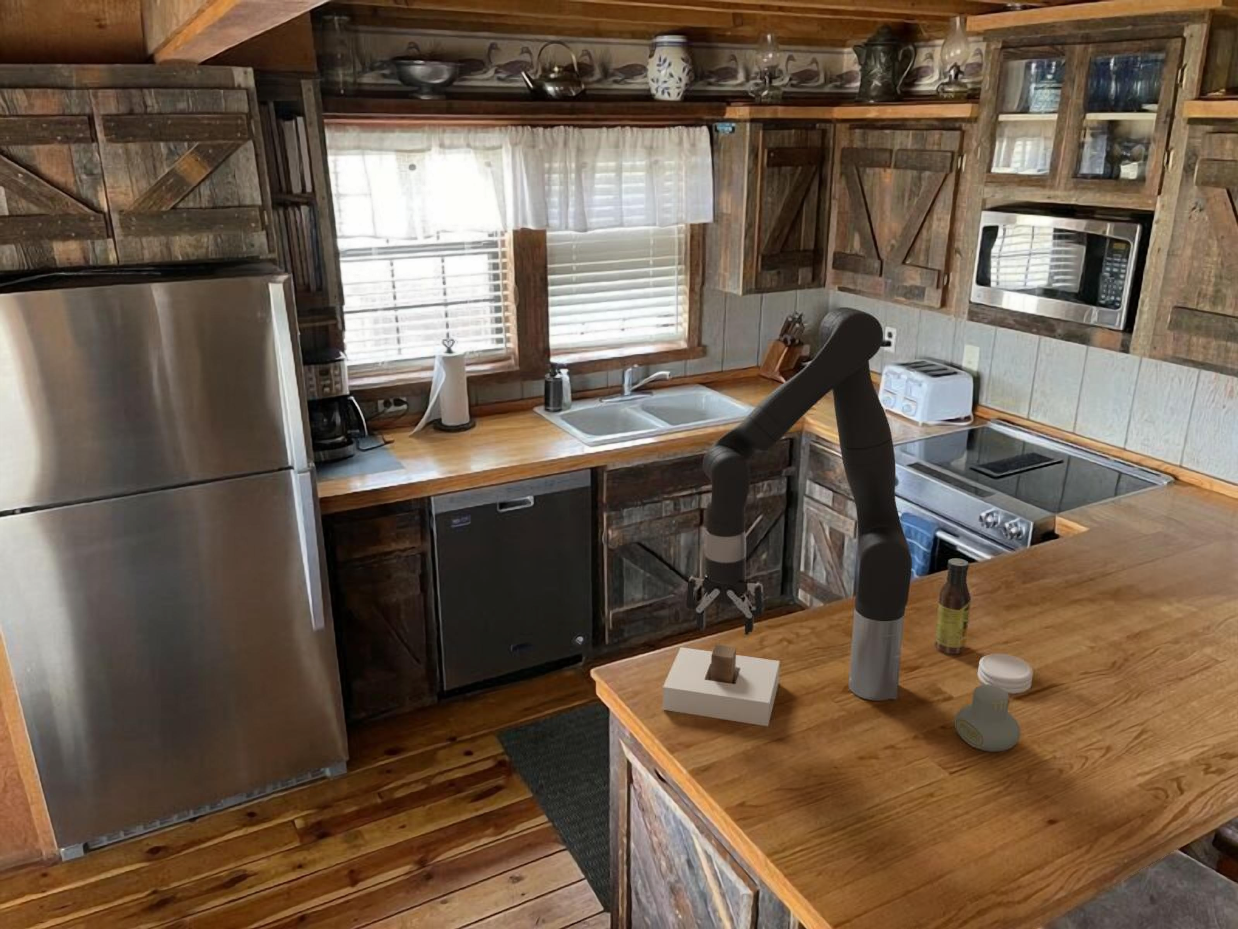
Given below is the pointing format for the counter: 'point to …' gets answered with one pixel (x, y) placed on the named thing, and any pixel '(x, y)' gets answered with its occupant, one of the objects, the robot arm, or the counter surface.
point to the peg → (723, 664)
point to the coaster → (1005, 672)
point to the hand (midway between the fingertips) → (724, 630)
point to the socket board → (722, 688)
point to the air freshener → (988, 720)
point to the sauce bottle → (953, 609)
